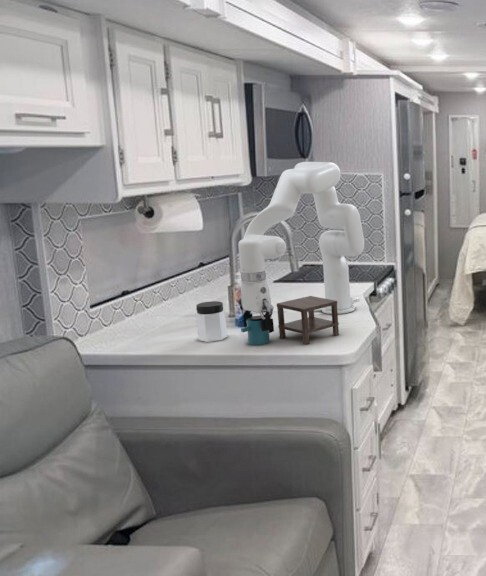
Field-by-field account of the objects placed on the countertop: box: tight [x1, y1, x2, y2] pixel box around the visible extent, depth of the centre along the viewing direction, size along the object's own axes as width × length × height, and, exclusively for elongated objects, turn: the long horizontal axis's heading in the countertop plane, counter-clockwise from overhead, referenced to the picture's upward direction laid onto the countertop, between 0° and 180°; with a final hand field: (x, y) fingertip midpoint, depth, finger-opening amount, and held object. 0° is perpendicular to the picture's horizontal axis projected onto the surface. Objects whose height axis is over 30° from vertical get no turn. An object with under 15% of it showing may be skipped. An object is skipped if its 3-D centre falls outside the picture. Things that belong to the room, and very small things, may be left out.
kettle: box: [240, 315, 275, 346], centre depth 219 cm, size 11×7×9 cm, turn 145°
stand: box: [276, 295, 340, 345], centre depth 226 cm, size 14×14×12 cm
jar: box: [195, 300, 228, 343], centre depth 224 cm, size 9×8×12 cm
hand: (257, 328), depth 219 cm, fingers open, 9 cm apart
